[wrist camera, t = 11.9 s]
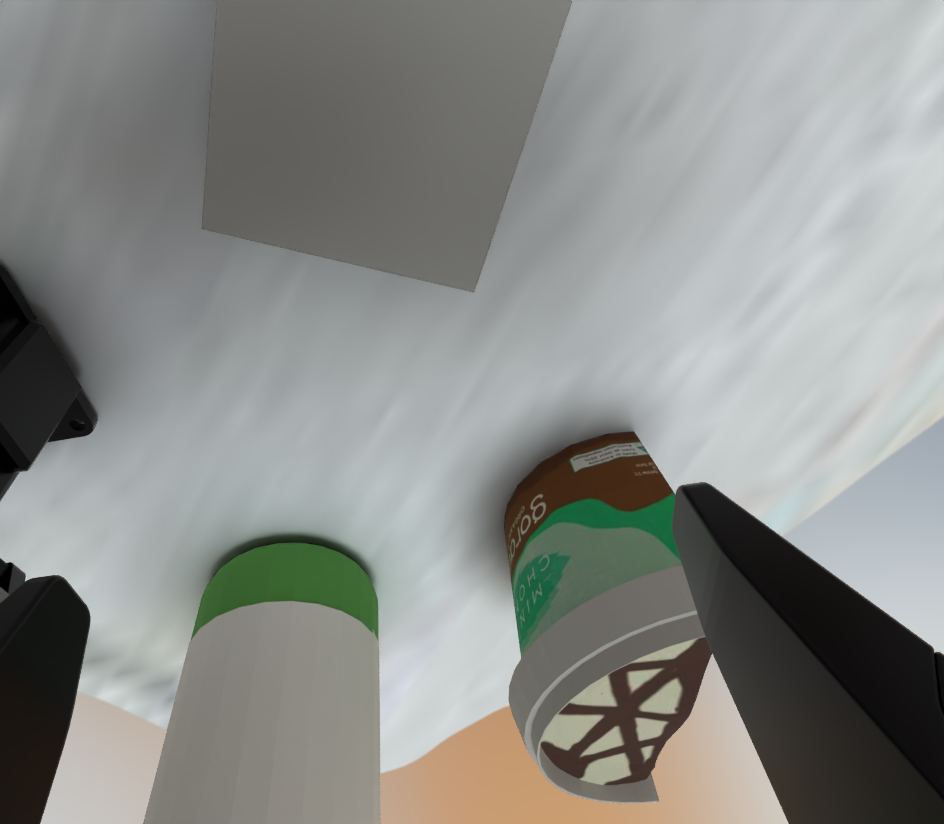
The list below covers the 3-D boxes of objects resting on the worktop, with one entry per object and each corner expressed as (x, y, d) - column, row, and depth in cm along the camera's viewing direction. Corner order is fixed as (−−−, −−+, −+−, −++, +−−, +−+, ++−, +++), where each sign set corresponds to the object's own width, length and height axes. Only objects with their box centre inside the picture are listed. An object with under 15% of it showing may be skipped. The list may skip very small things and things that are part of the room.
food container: (491, 404, 24) (549, 630, 16) (642, 402, 25) (766, 615, 17) (468, 602, 32) (500, 825, 24) (586, 595, 33) (655, 807, 25)
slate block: (231, 178, 18) (201, 229, 15) (258, -118, 15) (225, -133, 11) (458, 237, 20) (474, 292, 17) (534, -11, 17) (572, 0, 13)
